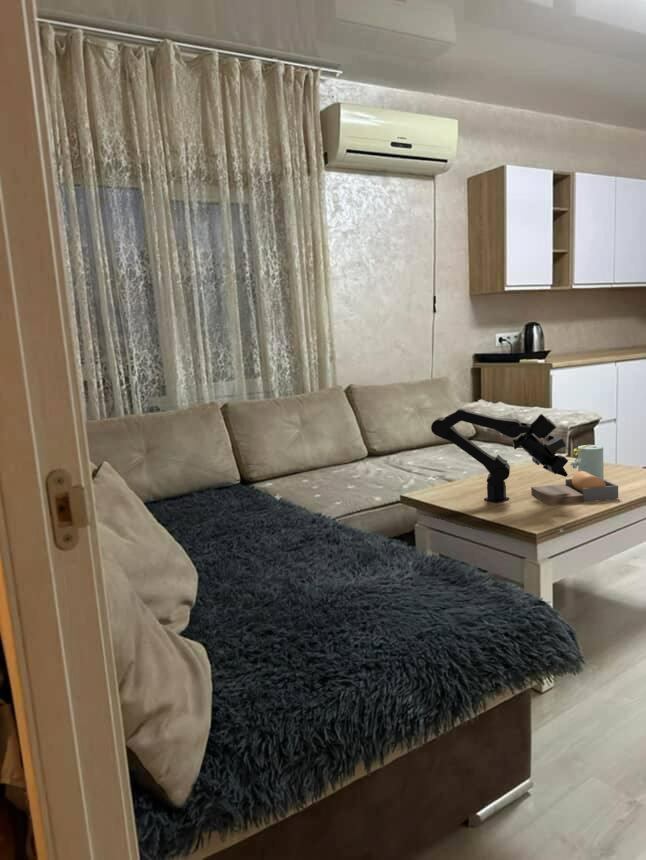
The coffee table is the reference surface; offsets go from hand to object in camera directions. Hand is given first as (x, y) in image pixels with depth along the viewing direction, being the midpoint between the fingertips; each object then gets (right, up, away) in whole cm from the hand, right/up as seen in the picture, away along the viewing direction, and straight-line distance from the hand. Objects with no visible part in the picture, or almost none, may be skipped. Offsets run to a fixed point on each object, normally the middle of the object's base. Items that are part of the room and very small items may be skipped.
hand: (566, 475), depth 213 cm
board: (-3, -8, +1) cm, 9 cm away
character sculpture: (+16, -4, +21) cm, 27 cm away
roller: (+8, -3, +1) cm, 9 cm away
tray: (+9, -7, +1) cm, 12 cm away
